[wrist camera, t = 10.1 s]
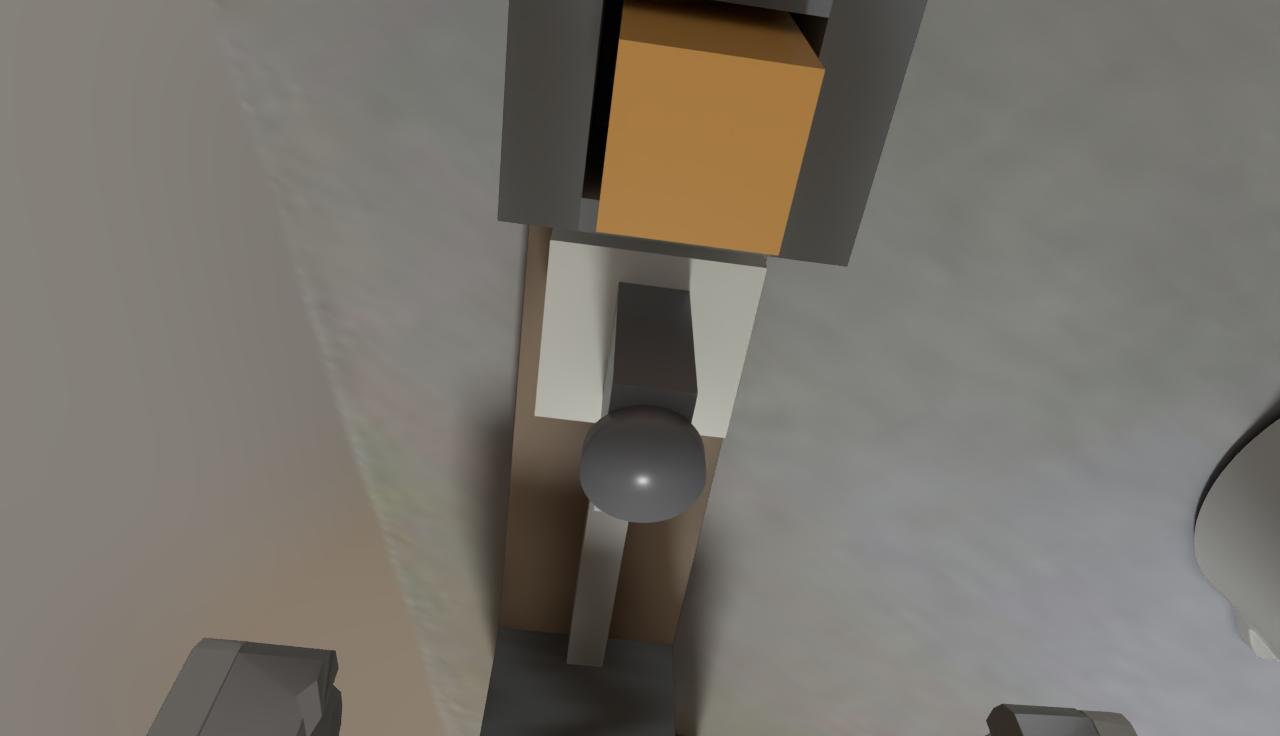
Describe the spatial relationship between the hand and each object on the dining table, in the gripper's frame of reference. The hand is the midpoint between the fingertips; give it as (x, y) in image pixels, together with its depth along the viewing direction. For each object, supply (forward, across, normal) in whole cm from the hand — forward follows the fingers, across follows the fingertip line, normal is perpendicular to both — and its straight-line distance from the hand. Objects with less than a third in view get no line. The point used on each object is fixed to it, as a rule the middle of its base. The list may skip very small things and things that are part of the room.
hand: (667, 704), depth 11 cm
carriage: (+19, 0, +4) cm, 20 cm away
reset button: (+14, 0, -4) cm, 14 cm away
